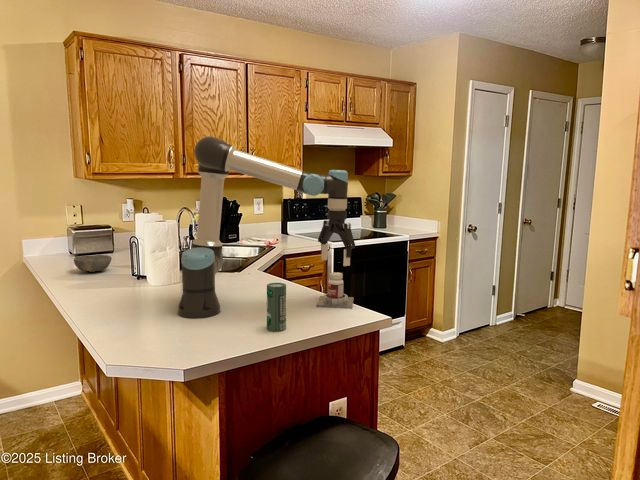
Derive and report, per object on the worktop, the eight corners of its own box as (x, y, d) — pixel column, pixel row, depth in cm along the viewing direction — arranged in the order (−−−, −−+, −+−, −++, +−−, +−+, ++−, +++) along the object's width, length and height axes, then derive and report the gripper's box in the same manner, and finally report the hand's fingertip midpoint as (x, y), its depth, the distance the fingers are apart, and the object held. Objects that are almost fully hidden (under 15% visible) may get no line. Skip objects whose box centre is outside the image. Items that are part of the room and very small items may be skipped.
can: (272, 324, 161) (272, 282, 159) (288, 327, 159) (288, 283, 157) (264, 330, 155) (263, 285, 153) (280, 332, 153) (280, 287, 151)
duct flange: (352, 308, 182) (352, 300, 182) (316, 306, 183) (316, 299, 183) (353, 299, 196) (353, 292, 195) (320, 297, 197) (320, 290, 197)
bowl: (111, 274, 238) (110, 258, 237) (72, 276, 232) (71, 260, 231) (112, 267, 255) (112, 253, 254) (76, 269, 248) (75, 254, 247)
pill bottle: (324, 301, 189) (325, 273, 187) (334, 298, 194) (334, 271, 192) (337, 304, 185) (337, 275, 184) (346, 300, 190) (346, 273, 188)
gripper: (366, 211, 177) (363, 267, 180) (324, 207, 196) (322, 257, 199) (351, 212, 172) (349, 269, 175) (310, 207, 192) (308, 258, 195)
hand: (335, 262), depth 187 cm, fingers open, 13 cm apart
